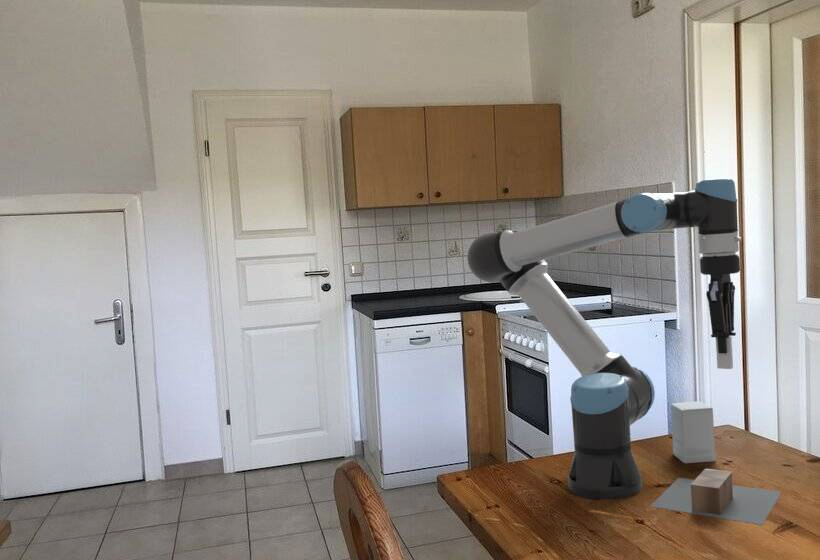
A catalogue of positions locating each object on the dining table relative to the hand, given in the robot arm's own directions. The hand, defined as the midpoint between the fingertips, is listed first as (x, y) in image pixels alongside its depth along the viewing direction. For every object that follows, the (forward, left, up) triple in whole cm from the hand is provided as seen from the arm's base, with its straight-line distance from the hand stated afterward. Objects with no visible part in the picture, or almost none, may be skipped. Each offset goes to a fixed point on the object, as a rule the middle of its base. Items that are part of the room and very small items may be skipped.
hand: (725, 367), depth 149 cm
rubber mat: (0, -12, -24) cm, 27 cm away
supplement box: (-11, +12, -24) cm, 29 cm away
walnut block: (0, -9, -21) cm, 23 cm away
